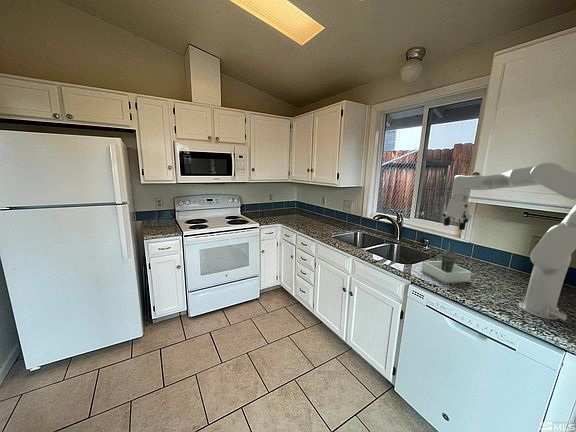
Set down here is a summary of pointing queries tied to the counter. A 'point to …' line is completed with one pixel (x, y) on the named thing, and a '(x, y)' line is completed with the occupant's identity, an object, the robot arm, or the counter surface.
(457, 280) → the bin
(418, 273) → the counter surface
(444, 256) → the beverage cup
